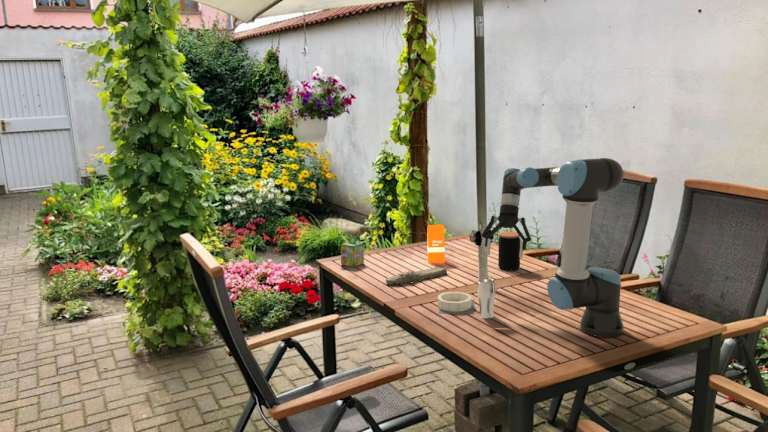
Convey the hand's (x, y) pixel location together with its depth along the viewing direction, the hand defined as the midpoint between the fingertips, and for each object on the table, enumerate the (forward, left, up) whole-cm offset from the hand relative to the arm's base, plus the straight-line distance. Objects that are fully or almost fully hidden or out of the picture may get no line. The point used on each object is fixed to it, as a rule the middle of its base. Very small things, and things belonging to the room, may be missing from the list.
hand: (504, 256), depth 243 cm
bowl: (-2, +20, -21) cm, 29 cm away
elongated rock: (+38, +40, -23) cm, 60 cm away
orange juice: (+70, +33, -22) cm, 81 cm away
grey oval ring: (-2, +19, -22) cm, 29 cm away
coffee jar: (+58, -5, -22) cm, 63 cm away
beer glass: (-12, +7, -22) cm, 26 cm away
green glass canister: (+61, +77, -22) cm, 101 cm away
